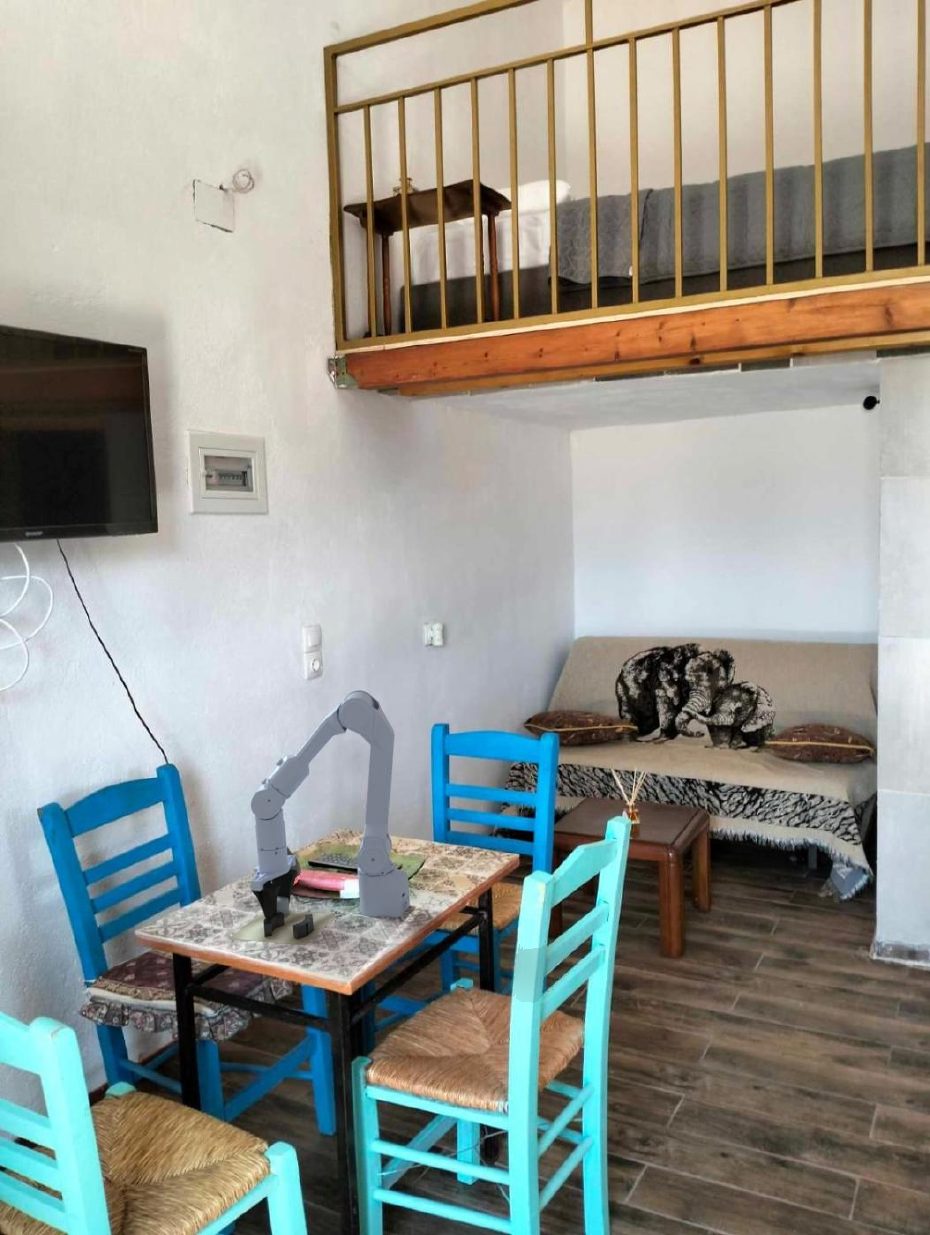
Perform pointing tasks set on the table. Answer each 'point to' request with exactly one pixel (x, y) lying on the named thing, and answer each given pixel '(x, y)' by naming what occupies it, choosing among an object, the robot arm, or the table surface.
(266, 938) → the board
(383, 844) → the robot arm
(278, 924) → the split dark grey block
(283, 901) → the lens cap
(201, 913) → the table surface
